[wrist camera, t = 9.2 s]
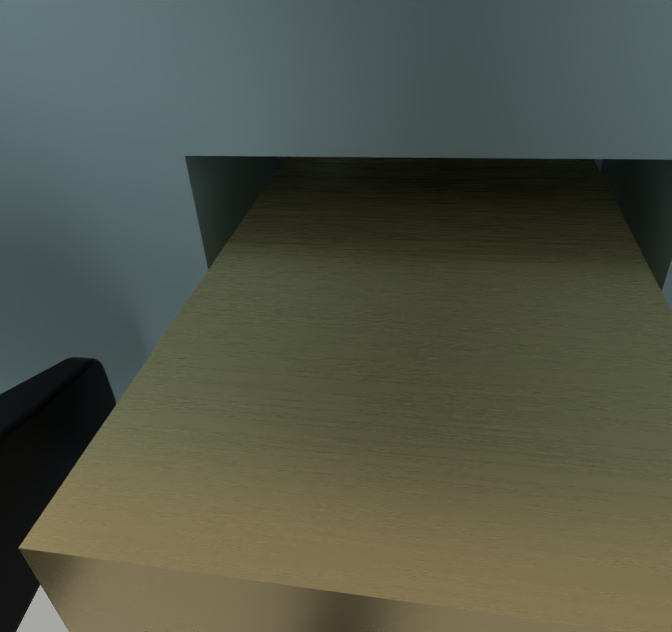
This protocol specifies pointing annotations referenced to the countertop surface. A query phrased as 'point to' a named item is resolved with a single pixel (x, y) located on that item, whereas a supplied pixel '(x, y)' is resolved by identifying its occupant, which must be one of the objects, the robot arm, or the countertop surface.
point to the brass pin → (389, 419)
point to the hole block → (282, 134)
